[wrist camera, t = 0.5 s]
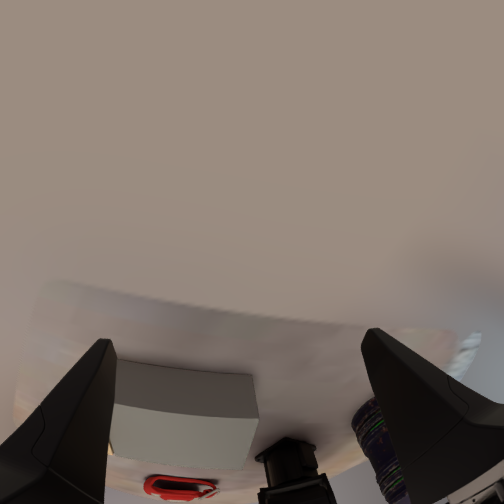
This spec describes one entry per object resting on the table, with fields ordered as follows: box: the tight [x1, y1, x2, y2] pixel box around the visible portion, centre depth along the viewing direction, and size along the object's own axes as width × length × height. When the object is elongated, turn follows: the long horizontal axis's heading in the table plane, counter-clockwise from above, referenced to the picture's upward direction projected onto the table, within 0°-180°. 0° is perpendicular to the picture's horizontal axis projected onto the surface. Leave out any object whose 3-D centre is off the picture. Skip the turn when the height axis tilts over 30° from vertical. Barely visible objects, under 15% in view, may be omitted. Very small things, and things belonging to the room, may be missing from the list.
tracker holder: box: [143, 476, 220, 502], centre depth 34 cm, size 12×4×10 cm
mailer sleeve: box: [110, 359, 259, 470], centre depth 26 cm, size 14×10×6 cm
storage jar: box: [351, 397, 411, 504], centre depth 27 cm, size 10×10×15 cm
